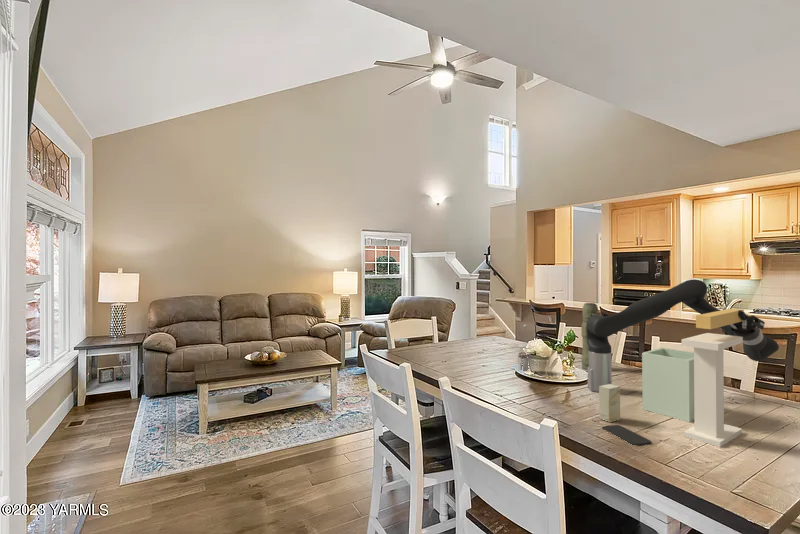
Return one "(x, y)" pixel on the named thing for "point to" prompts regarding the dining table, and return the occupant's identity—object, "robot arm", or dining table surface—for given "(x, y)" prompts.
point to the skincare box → (609, 402)
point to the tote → (668, 383)
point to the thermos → (588, 311)
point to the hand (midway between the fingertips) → (731, 312)
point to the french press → (523, 356)
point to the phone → (627, 435)
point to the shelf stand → (710, 389)
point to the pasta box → (718, 319)
